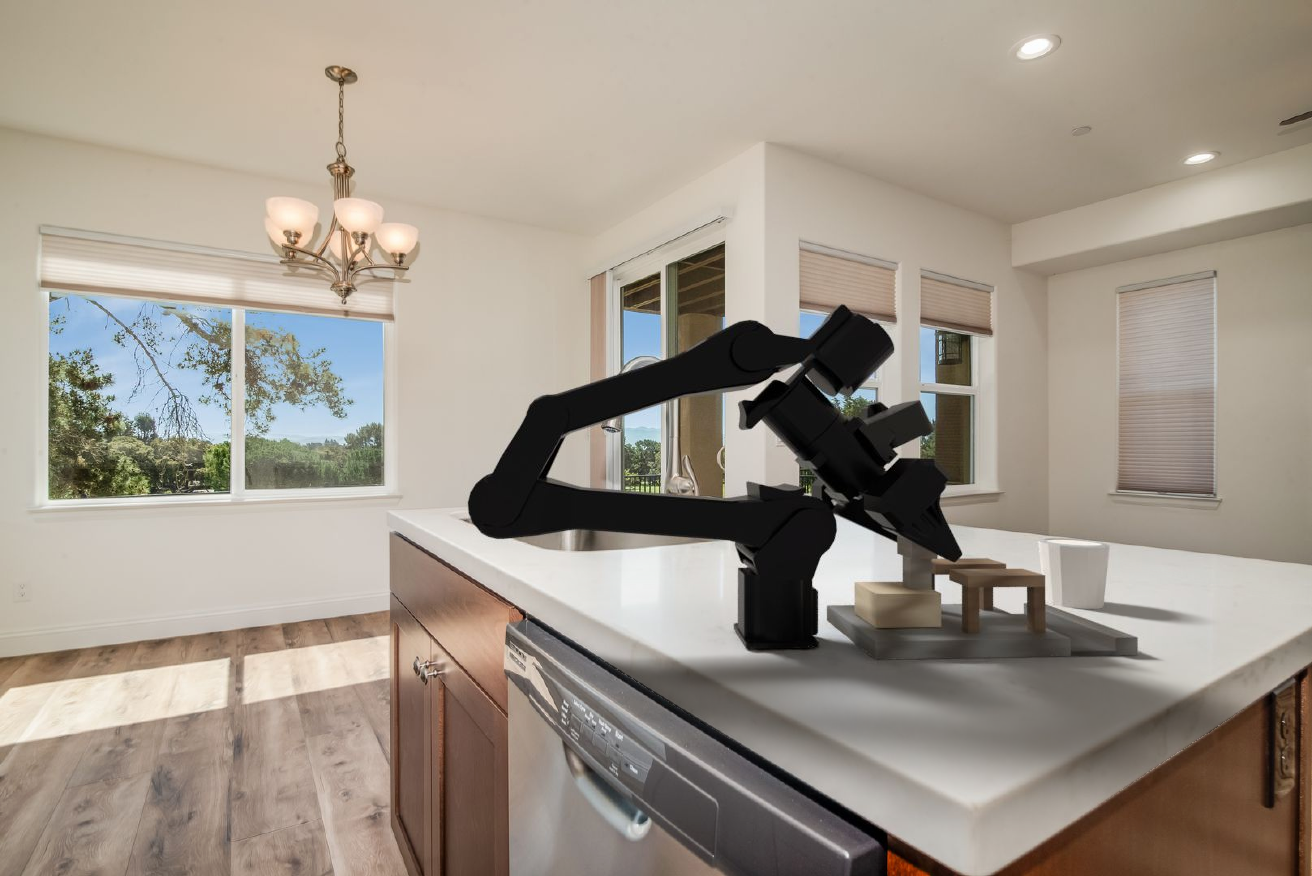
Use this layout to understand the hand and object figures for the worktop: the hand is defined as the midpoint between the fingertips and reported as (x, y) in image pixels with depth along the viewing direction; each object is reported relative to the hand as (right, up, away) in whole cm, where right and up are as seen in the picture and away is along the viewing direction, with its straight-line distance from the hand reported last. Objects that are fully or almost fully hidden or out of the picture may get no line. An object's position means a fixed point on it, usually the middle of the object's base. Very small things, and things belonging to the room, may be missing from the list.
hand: (931, 549), depth 59 cm
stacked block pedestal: (-3, -6, 0) cm, 7 cm away
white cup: (+22, -9, +13) cm, 27 cm away
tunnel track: (+3, -8, 0) cm, 9 cm away
